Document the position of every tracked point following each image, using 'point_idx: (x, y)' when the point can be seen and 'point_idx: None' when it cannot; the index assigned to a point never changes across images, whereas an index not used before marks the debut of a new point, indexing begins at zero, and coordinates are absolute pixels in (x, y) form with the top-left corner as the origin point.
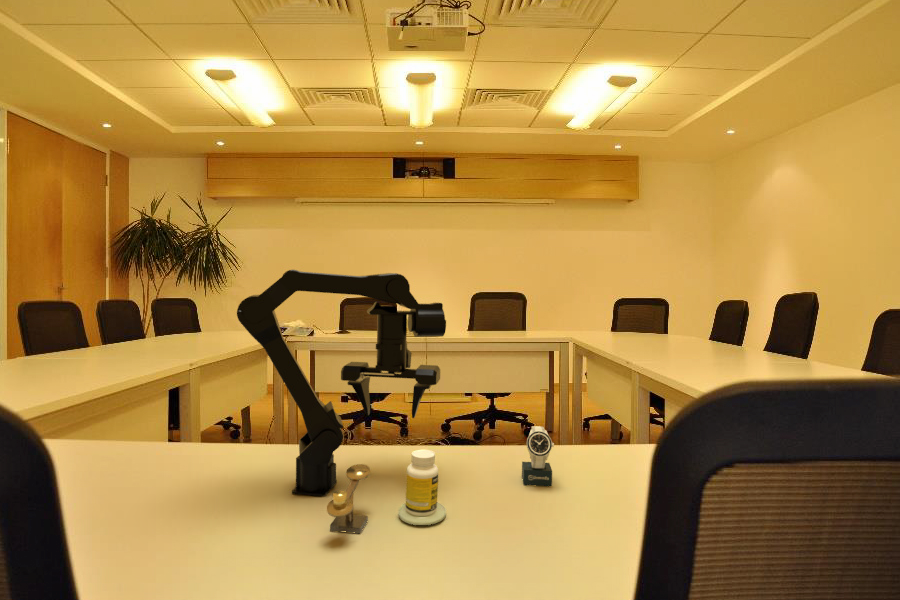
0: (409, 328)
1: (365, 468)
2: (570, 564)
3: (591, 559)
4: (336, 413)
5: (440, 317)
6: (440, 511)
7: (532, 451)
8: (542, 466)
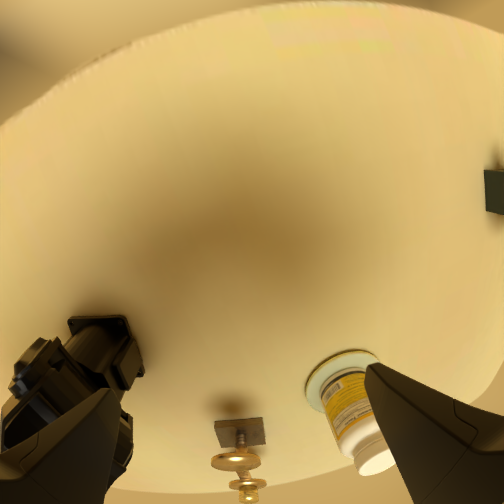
0: None
1: (247, 461)
2: (472, 383)
3: (488, 367)
4: (26, 407)
5: None
6: None
7: None
8: None
